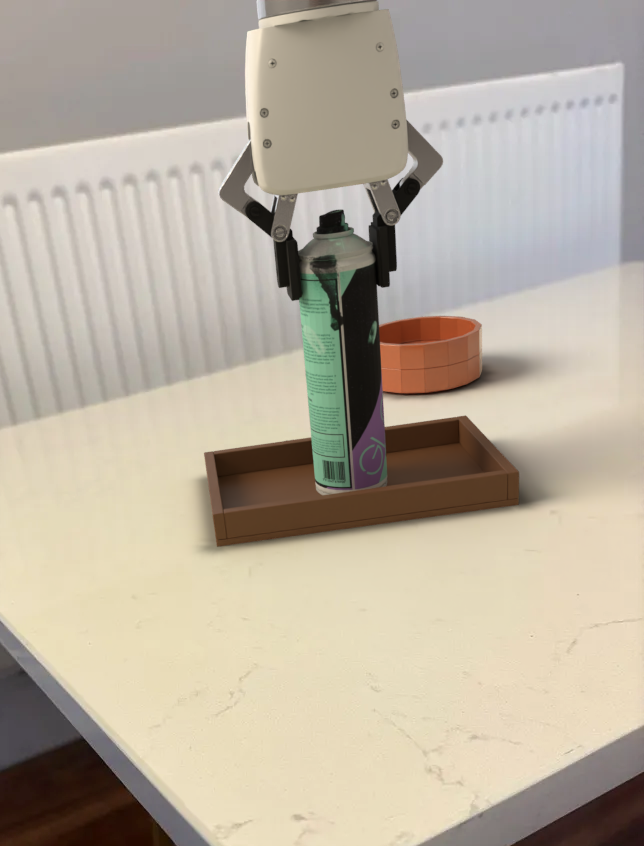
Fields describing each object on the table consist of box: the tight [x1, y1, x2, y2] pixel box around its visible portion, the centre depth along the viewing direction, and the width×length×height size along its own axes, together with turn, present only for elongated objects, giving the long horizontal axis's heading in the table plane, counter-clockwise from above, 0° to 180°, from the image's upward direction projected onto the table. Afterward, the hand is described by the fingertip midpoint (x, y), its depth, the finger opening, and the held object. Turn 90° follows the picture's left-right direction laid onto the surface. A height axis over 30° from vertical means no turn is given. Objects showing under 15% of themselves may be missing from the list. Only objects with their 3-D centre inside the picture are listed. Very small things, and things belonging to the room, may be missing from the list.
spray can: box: [298, 209, 387, 495], centre depth 74 cm, size 6×6×20 cm
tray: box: [203, 415, 520, 547], centre depth 78 cm, size 22×14×3 cm, turn 92°
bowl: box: [379, 315, 483, 395], centre depth 102 cm, size 11×11×5 cm
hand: (337, 287), depth 72 cm, fingers closed on spray can, 5 cm apart
